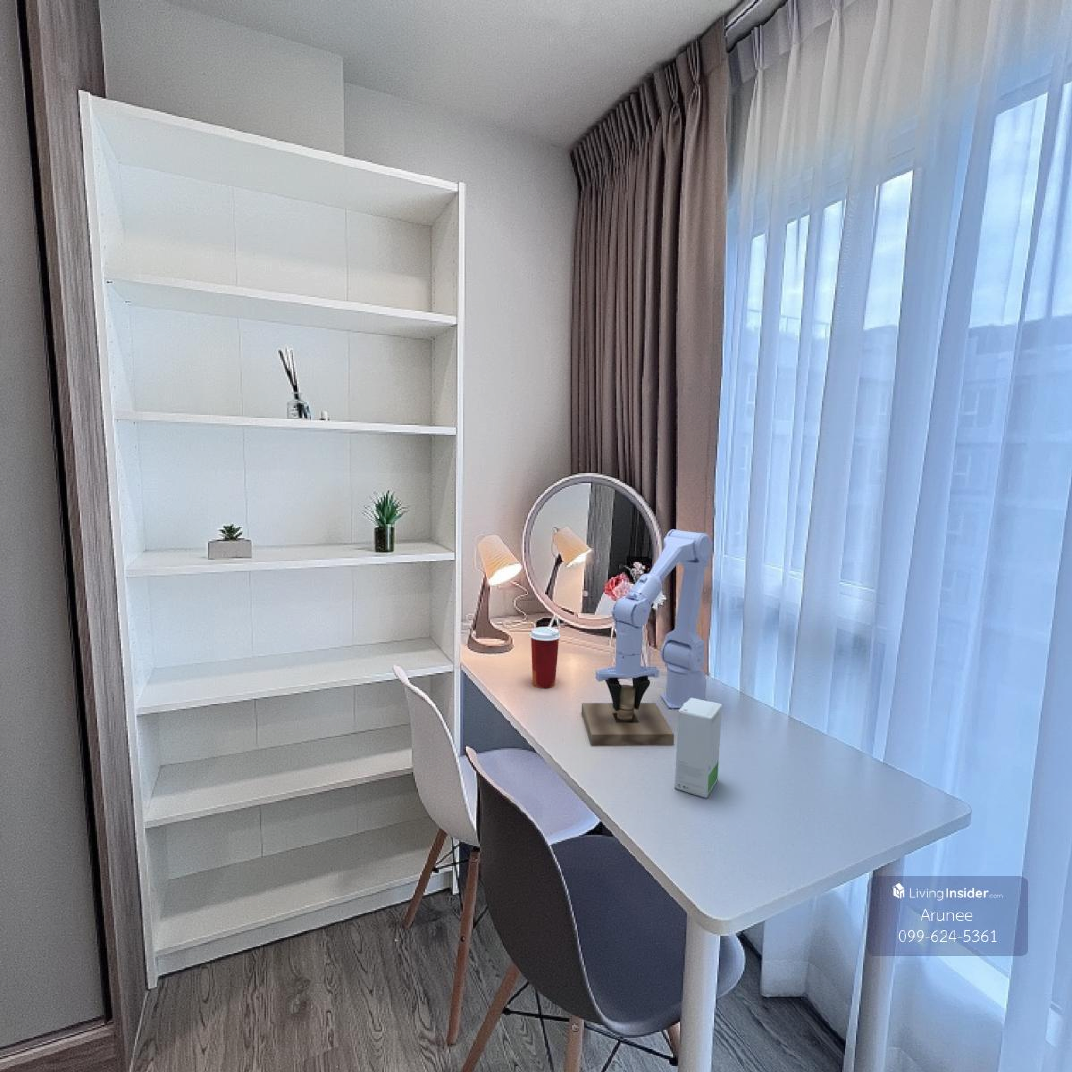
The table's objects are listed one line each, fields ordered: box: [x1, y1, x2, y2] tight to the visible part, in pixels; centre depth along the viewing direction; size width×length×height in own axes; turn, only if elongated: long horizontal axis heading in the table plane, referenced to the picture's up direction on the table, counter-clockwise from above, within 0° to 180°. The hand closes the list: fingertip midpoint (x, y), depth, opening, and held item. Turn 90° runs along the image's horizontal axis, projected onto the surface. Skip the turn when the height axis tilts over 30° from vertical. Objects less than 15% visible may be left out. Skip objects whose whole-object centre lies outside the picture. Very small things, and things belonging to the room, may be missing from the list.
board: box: [581, 702, 675, 747], centre depth 136 cm, size 18×16×2 cm
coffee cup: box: [529, 626, 561, 689], centre depth 160 cm, size 8×8×15 cm
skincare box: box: [674, 698, 723, 799], centre depth 113 cm, size 8×7×16 cm
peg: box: [616, 684, 636, 720], centre depth 135 cm, size 4×4×7 cm
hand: (625, 708), depth 135 cm, fingers closed on peg, 4 cm apart
